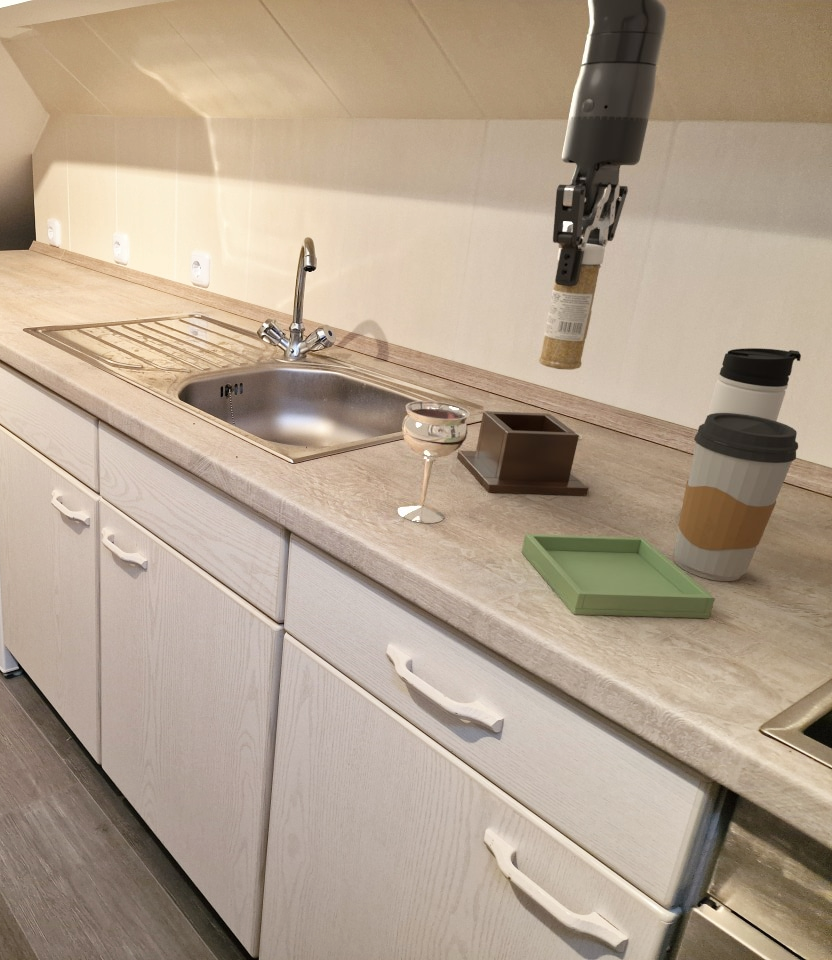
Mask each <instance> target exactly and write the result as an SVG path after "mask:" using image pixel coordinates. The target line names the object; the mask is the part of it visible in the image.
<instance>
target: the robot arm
mask: <svg viewBox="0 0 832 960" xmlns="http://www.w3.org/2000/svg"><path fill="white" fill-rule="evenodd" d="M587 6H588V8H587V9H588V18H589V20H588V21H589V22H588V28H587V32H586V37H585V42H584V47H583V52H582V58H581V64H580V65H581V66H580V68H579V73H578V77H577V79H576V82H575V86H574V89H573V93H572V98H571V104H570V108H569V109H570V110H569V114H568V120H567V125H566V130H565V131H566V132H565V137H564V143H563V147H562V153H561V160H562V162H563V163H566V164H575V165H576V166H575V169H574V172H573V174H572V178H571V181H570V183H569V184H559V185H558V186H557V188H556V193H555V194H556V195H555V207H554V219H553V220H554V221H553V233H552V234H553V235H552V242H553V243H554V244H558V249H559V248H562V249H561V252H560V258H559V261H558V262H559V263H558V262H557V263H558V264H557V267H558V268H557V267H556V272H557V273H555V278H556V279H555V278H554V283H555V282H556V284H558V285H563V286H575V285H577V283H578V280H579V275H580V270H581V265H582V260H583V255H584V251H583V250H584V249H585V247H586V243H587V244H595V245H601V246H603V247H604V248H606V246H607V245H608V242H612V241H613V240H614V238H615V234H616V232H617V227H618V225H619V221H620V218H621V214H622V211H623V208H624V205H625V202H626V198H627V195H628V193H629V190H628V189H629V187H628V186H627V185H620V184H619V183H620V169H621V166H636V165H637V164H638V163H639V162H640V161H641V155H642V151H643V146H644V142H645V138H646V132H647V128H648V125H649V123H648V122H649V119H650V114H651V109H652V104H653V100H654V96H655V95H654V94H655V88H656V77H657V67H658V64H659V58H660V54H661V50H662V45H663V40H664V35H665V31H666V26H667V25H666V24H667V18H668V17H667V16H668V12H667V8H666V6H665V4H664V3H663V2H662V1H661V0H587ZM580 250H582V251H580Z"/></svg>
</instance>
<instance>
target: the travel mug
mask: <svg viewBox="0 0 832 960" xmlns="http://www.w3.org/2000/svg"><path fill="white" fill-rule="evenodd" d="M801 357H802V355H801V353H800V351H799V350H793V349H790V350H783V349H775V348H762V347H761V348H756V347H755V348H754V347H753V348H752V347H749V348H748V347H747V348H746V347H745V348H735V349H730V350H727V353H725V354H724V356H723V361H722V364H721V365H722V367H721V368H720V371H719V373H718V377H717V380H716V383H715V386H714V390H713V393H712V397H711V401H710V404H709V408H708V410H707V415H706V417H707V416H708V415H710V414H714V413H735V414H744V415H750V416H756V417H761V418H765V419H770V420H773V421H777V420H778V418H779V414H780V412H781V408H782V405H783V402H784V398H785V395H786V390H787V389H788V387H789V380H790V376H791V374H792V371H793V365H794V361H795V360H796V362H801ZM777 422H778V421H777ZM682 504H683V502H682V503H681V506H680V509H679V513H678V515H679V517H680V514H681V509H682Z"/></svg>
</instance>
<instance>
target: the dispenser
mask: <svg viewBox="0 0 832 960" xmlns="http://www.w3.org/2000/svg"><path fill="white" fill-rule="evenodd" d="M479 428H480V429H479V433H478V438H477V444H476V450H458V451H457V456H456V457H457V459H458V461H460V463H462V465H463V466H464V467H465V468H466V470H468V472H470V474H471V475H472V476H473V477H474V478H475V479H476V480H477V481H478V482H479V484H480V485H481V486H482V487H483V488H484V490H486V492H487V493H498V494H499V493H500V494H527V495H528V494H531V495H558V496H559V495H560V496H562V495H563V496H584V497H585V496H588V493H589V487H588V486H587V485H586V484H584V483H583V482H582V481H581V480H579V478H577V477H576V476H575V475H574V474H573V473H572V469H573V464H574V459H575V455H576V451H577V447H578V442H579V437H580V435H579V434H578V433H576V431H574V430H573V429H571V428H570V427H569V426H567V425H565V424H564V423H563V422H561V421H560V420H559V419H557V418H556V417H555V416H554V415H552V414H551V413H543V412H518V411H494V410H493V411H489V410H483V411H482V416H481V422H480V426H479Z"/></svg>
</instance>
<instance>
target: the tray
mask: <svg viewBox="0 0 832 960" xmlns="http://www.w3.org/2000/svg"><path fill="white" fill-rule="evenodd" d="M521 553H522V554H523V556H524V557H525V558H526V560H528V562H529V563H530V564H531V565H532V566H533V567H534V569H535V570H536V571H537V572H538V573H539V575H540V576H541V577H542V578H543V580H544V581H545V582H546V583H547V584H548V585H549V587H550V588H551V589H552V591H554V593H555V594H556V595H557V596H558V597H559V598H560V600H561V601H562V602H563V603H564V605H566V607H567V608H568V609H569V610H570V612H571V613H572V614H573V615H586V616H614V617H615V616H616V617H617V616H618V617H619V616H621V617H651V618H652V617H653V618H654V617H655V618H683V619H685V618H687V619H690V618H691V619H709V618H710V615H711V611H712V609H713V605H714V602H715V600H716V598H715V596H713V595H712V594H711V593H710V592H708V591H707V589H705V588H704V587H703V586H702V585H701V584H699V583H698V582H697V581H696V580H694V578H692V577H691V576H690V575H688V574H687V572H686V571H685V570H684V569H682V568H681V567H680V566H678V565H677V564H676V563H674V562H673V561H672V560H671V559H670V558H668V557H667V555H665V554H664V553H663V552H661V551H660V550H659V549H658V548H657V547H656V546H654V545H653V544H652V543H651V542H650V541H649V540H647V539H646V538H645V537H633V536H632V537H631V536H607V535H606V536H602V535H577V534H575V535H574V534H573V535H572V534H546V533H545V534H541V533H525V534H524V539H523V543H522V549H521Z"/></svg>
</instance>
